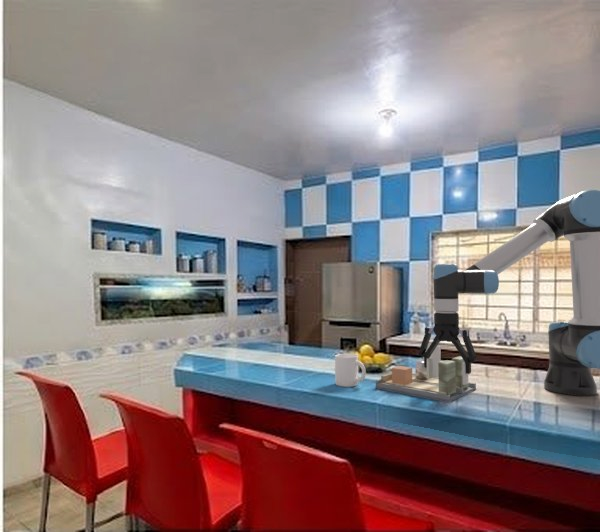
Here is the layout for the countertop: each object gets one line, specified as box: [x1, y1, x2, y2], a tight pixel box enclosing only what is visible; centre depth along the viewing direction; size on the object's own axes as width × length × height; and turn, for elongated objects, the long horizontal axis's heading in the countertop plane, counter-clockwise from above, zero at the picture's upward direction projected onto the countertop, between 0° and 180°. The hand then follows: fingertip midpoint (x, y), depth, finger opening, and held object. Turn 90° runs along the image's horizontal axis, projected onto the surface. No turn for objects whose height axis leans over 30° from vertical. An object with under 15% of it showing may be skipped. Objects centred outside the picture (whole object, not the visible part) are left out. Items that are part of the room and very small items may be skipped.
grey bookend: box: [422, 344, 442, 377], centre depth 168 cm, size 10×7×12 cm, turn 140°
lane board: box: [375, 373, 477, 403], centre depth 147 cm, size 26×22×3 cm
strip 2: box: [412, 355, 468, 389], centre depth 151 cm, size 24×8×10 cm, turn 47°
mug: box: [334, 353, 367, 388], centre depth 153 cm, size 12×8×10 cm
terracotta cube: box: [391, 365, 413, 385], centre depth 148 cm, size 5×5×5 cm
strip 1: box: [380, 359, 456, 395], centre depth 144 cm, size 24×8×10 cm, turn 47°
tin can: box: [414, 360, 427, 380], centre depth 154 cm, size 4×4×6 cm
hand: (447, 381), depth 137 cm, fingers open, 11 cm apart
